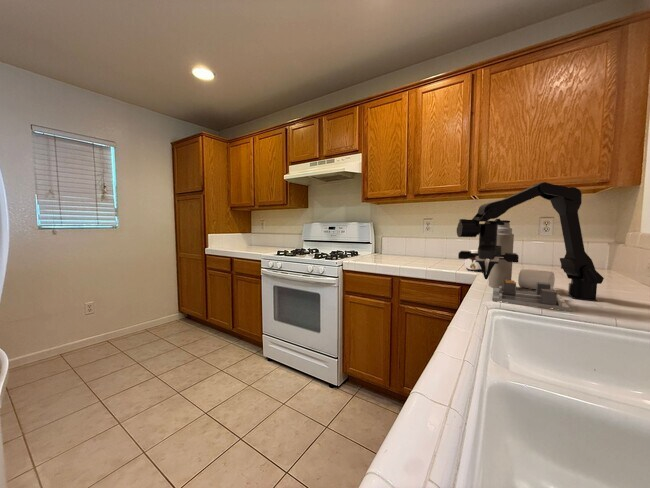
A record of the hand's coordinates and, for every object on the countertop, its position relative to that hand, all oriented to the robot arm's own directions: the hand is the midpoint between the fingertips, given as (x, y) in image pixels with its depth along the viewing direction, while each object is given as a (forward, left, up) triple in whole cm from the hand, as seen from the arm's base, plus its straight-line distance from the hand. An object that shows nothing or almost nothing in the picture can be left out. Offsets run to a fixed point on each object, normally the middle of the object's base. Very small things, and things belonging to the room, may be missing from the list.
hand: (486, 279), depth 100 cm
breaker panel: (-12, 0, -6) cm, 14 cm away
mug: (-17, -23, -6) cm, 29 cm away
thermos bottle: (-4, -18, -6) cm, 20 cm away
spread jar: (+6, -58, -6) cm, 59 cm away
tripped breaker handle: (-7, 0, -4) cm, 9 cm away
